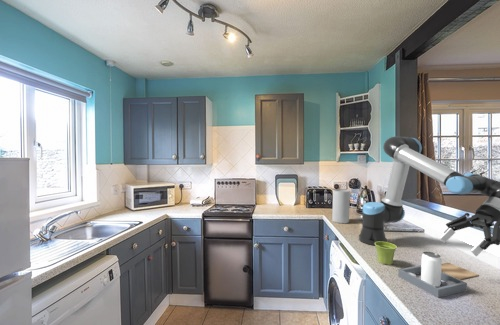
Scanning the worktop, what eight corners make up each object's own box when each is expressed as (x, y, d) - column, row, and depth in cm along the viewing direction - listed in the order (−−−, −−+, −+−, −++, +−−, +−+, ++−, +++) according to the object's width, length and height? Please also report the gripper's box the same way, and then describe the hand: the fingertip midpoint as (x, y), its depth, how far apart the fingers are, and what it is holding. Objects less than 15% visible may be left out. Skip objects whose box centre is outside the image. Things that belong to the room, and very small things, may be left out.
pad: (430, 266, 110) (430, 265, 110) (448, 263, 113) (448, 262, 113) (460, 279, 98) (460, 278, 98) (478, 275, 102) (478, 274, 102)
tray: (398, 276, 101) (398, 269, 101) (424, 271, 106) (424, 264, 106) (437, 297, 85) (438, 289, 85) (466, 290, 90) (466, 283, 90)
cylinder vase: (352, 222, 182) (353, 191, 181) (340, 224, 177) (341, 191, 176) (340, 218, 193) (340, 188, 193) (328, 220, 188) (329, 189, 187)
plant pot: (387, 268, 108) (388, 249, 107) (369, 259, 116) (370, 242, 116) (400, 264, 111) (401, 247, 111) (382, 256, 120) (383, 240, 120)
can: (421, 277, 100) (422, 249, 100) (440, 282, 96) (441, 253, 96) (420, 283, 95) (421, 254, 95) (440, 289, 91) (441, 259, 91)
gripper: (537, 225, 84) (496, 267, 83) (468, 209, 109) (436, 241, 108) (524, 211, 83) (483, 252, 83) (458, 198, 108) (426, 230, 108)
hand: (456, 246), depth 96 cm, fingers open, 13 cm apart
